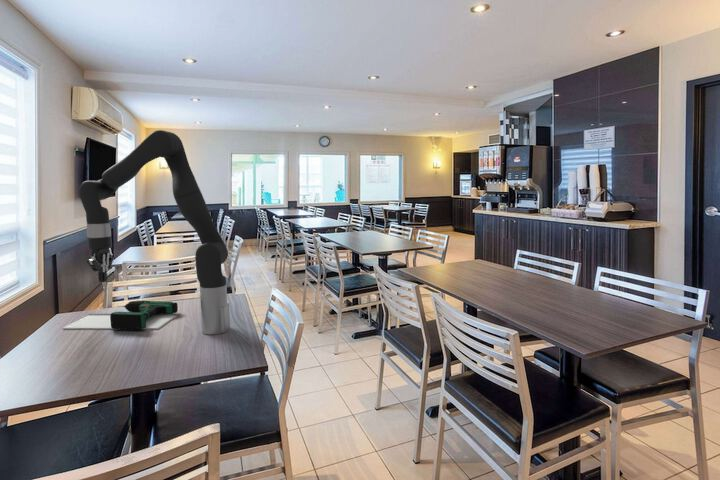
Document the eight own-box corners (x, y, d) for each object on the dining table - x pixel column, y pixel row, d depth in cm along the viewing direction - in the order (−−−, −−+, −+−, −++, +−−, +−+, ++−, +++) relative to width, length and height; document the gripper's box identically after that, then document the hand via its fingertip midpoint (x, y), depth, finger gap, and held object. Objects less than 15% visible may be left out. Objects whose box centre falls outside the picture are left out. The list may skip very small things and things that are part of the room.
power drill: (140, 315, 150) (180, 298, 175) (71, 313, 155) (119, 297, 180) (141, 330, 151) (181, 311, 175) (72, 327, 156) (120, 310, 180)
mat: (177, 315, 170) (176, 313, 170) (157, 329, 155) (157, 326, 154) (90, 315, 171) (90, 313, 171) (62, 329, 155) (62, 326, 155)
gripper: (98, 237, 145) (102, 286, 147) (119, 233, 158) (123, 277, 160) (76, 237, 145) (81, 286, 147) (100, 233, 158) (104, 277, 160)
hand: (103, 281), depth 154 cm, fingers closed
